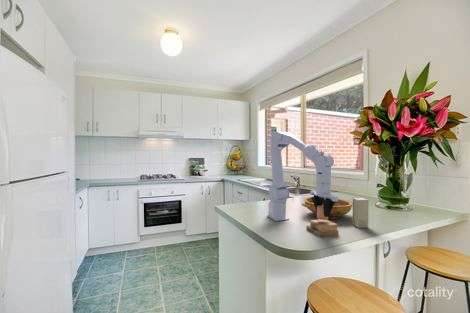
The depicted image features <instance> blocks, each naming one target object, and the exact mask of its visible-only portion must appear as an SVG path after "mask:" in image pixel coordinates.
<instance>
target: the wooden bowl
mask: <svg viewBox="0 0 470 313" xmlns="http://www.w3.org/2000/svg"><path fill="white" fill-rule="evenodd" d="M311 197H312V196H310V197H309V196H308V197H304V199H303V201H304V203H303V202H302V203H301V206H302V207H305V208H307V210H309V211H310V212H312V213H314V214H315V215H316V216H317V213H316V209H315V205H314V203H313V201H312V199H311ZM324 200H326V199H325V198H324ZM322 205H323V204H322ZM352 209H353V201H350V200H347V199H343V198H339V197H338V201H336V203H335V204H334V206H333V207H332V210H331V213H330V216H329V217H328V219H327V220H329V219H330V220H331V219H334V220H335V219H338V218H339V217H340V216H344V215H347V214H348V213H350V211H351V210H352Z"/></svg>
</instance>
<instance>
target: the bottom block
mask: <svg viewBox="0 0 470 313" xmlns="http://www.w3.org/2000/svg"><path fill="white" fill-rule="evenodd" d="M305 230H307V231H308V232H310V233H311V234H313V235H315V236H317V237H319V238H325V237H332V236H333V237H334V236H339V229H337V230H335V231H327V232H321V231H319V230H317V229H315V228H313V227H311V226H310V224H309V225H306V229H305Z"/></svg>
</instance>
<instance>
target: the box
mask: <svg viewBox="0 0 470 313" xmlns="http://www.w3.org/2000/svg"><path fill="white" fill-rule="evenodd" d="M352 203H353V205H352V225H353V226H354V227H356V228H357V229H358V228H359V229H360V228H361V229H363V228H364V229H366V228H367V229H368V228H369V199H366V198H364V197H354V198H353V197H352Z"/></svg>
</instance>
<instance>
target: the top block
mask: <svg viewBox="0 0 470 313" xmlns="http://www.w3.org/2000/svg"><path fill="white" fill-rule="evenodd" d="M309 225H310V226H311V227H313V228H315V229H317V230H319V231H321V232H327V231H335V230H338V224H337V223H335V222H334V221H331V220H329V219H327V220H321V219H310V224H309Z"/></svg>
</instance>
